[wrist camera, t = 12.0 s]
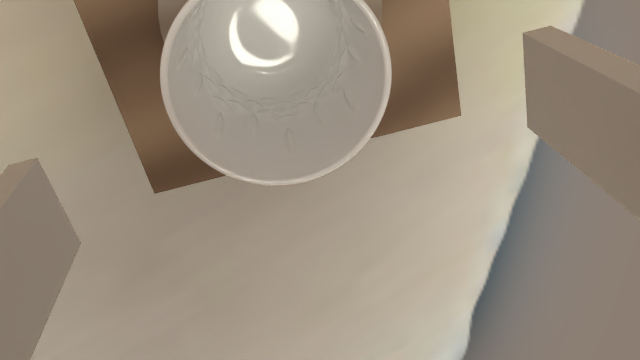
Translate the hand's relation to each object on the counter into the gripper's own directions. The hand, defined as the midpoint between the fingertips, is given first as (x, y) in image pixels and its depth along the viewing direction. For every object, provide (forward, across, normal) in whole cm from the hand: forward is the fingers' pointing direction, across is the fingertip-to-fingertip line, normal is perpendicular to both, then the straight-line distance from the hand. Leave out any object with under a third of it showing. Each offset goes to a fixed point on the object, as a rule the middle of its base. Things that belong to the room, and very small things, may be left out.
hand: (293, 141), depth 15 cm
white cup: (+15, 0, 0) cm, 15 cm away
